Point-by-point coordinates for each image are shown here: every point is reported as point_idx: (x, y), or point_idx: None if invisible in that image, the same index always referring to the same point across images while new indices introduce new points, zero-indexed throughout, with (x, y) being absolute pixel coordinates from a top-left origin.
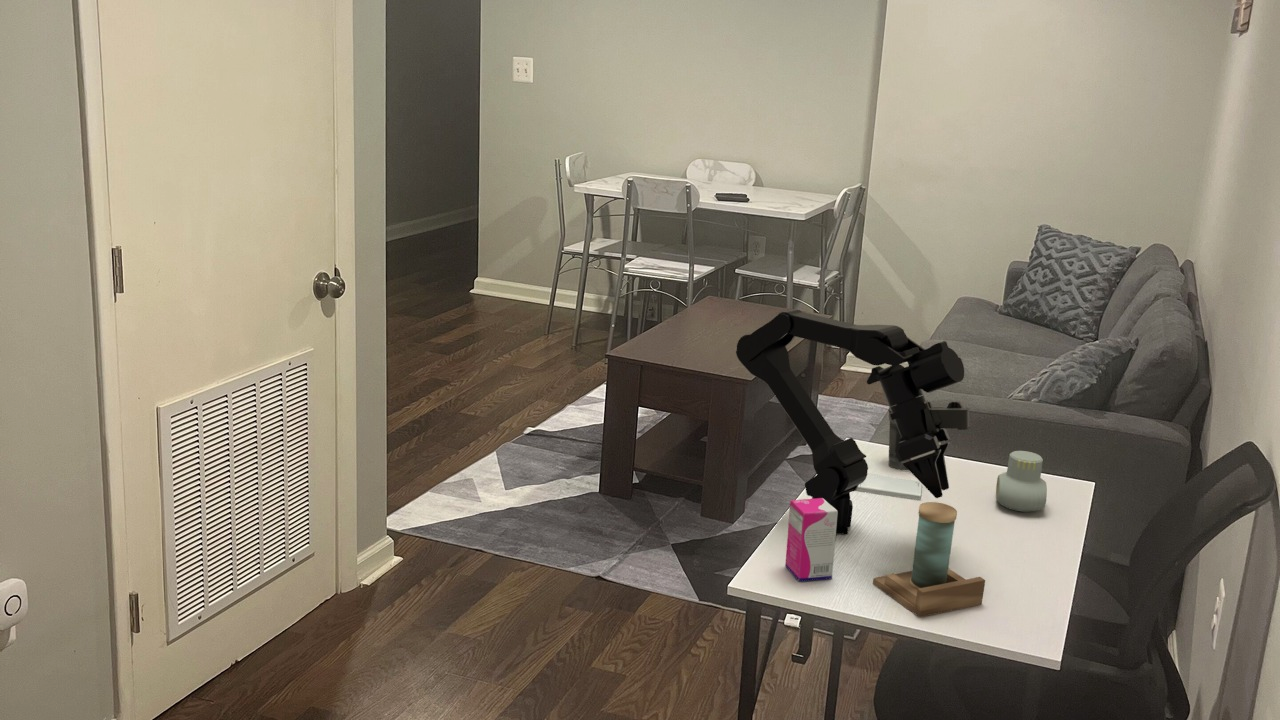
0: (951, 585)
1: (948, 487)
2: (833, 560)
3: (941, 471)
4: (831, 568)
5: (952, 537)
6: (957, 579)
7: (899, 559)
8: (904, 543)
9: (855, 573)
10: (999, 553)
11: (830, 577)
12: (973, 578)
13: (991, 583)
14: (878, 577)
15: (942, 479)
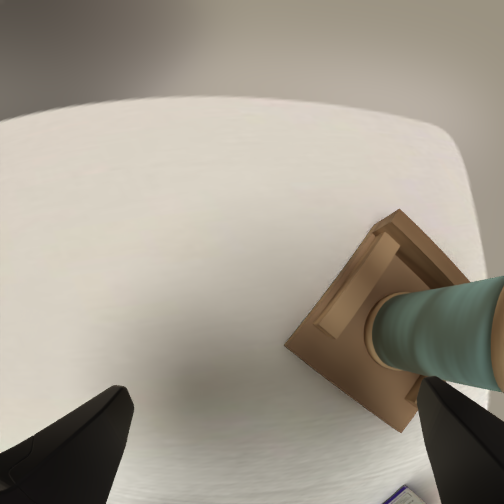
0: (456, 272)
1: (124, 388)
2: (420, 500)
3: (80, 455)
4: (414, 494)
5: (480, 280)
6: (378, 274)
7: (252, 426)
8: (155, 430)
9: (365, 470)
10: (98, 220)
11: (407, 487)
12: (407, 233)
13: (268, 216)
14: (395, 427)
15: (107, 431)
